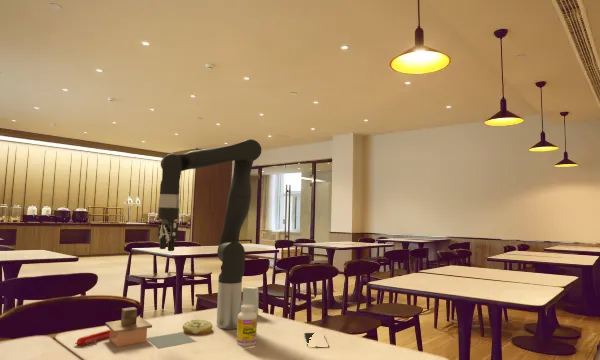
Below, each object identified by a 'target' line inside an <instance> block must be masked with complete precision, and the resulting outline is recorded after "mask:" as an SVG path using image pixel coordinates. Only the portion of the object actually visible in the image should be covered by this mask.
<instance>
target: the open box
mask: <svg viewBox="0 0 600 360" xmlns="http://www.w3.org/2000/svg"><path fill="white" fill-rule="evenodd" d="M109 330H110V329H109ZM147 333H148V328H146V329H140V330H133V331H127V332H120V333H113V332H112V331H111V330H110V336H109V338H108V339H109V341H111V342H112V343H113V345H115V346H116V347H121V346H126V345H132V344H139V343H143V342H144V343H145V342H147V338H148V334H147Z"/></svg>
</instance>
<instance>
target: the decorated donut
mask: <svg viewBox="0 0 600 360" xmlns="http://www.w3.org/2000/svg"><path fill="white" fill-rule="evenodd" d="M213 328H214V327H213V323H212V322H211V321H208V320H206V319H205V320H204V319H191V320H190V321H186V322H184V323H183V324H182V329H183V333H184V334H186V335H206V334H207V335H208V334H209V333H210V332H212V331H213V330H212V329H213Z"/></svg>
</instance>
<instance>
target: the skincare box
mask: <svg viewBox="0 0 600 360" xmlns="http://www.w3.org/2000/svg"><path fill="white" fill-rule="evenodd" d="M242 301H243V304H253V305H254V306H255V309H254V312H255V313H256V314H257V316H258V315H259V286H246V285H245V286H244V287H243V288H242Z"/></svg>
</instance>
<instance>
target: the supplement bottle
mask: <svg viewBox="0 0 600 360" xmlns="http://www.w3.org/2000/svg"><path fill="white" fill-rule="evenodd" d="M254 309H255V306H254V305H253V304H243V305H241V312H240V313H239V314H238V321H237V328H236V344H237V345H239V346H242V347H243V346H244V347H245V346H246V347H248V346H253V345H256V343H257V328H258V327H257V324H258V315H257V314H256V313H255V312H254Z"/></svg>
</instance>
